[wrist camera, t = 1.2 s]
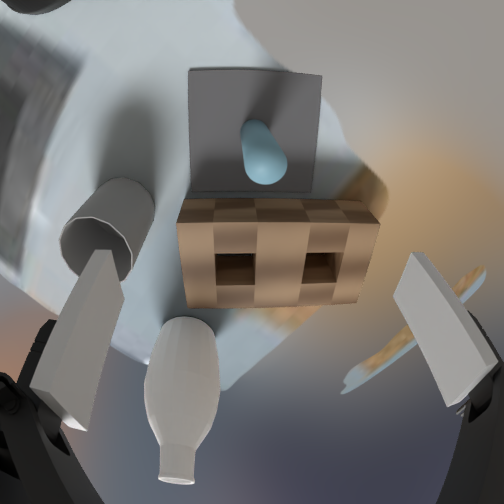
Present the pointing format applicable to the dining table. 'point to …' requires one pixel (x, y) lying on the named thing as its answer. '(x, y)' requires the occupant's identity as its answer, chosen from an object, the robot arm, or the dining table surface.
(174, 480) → the bottle
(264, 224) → the block
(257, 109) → the mat
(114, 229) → the cup
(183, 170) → the dining table surface
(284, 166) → the peg
